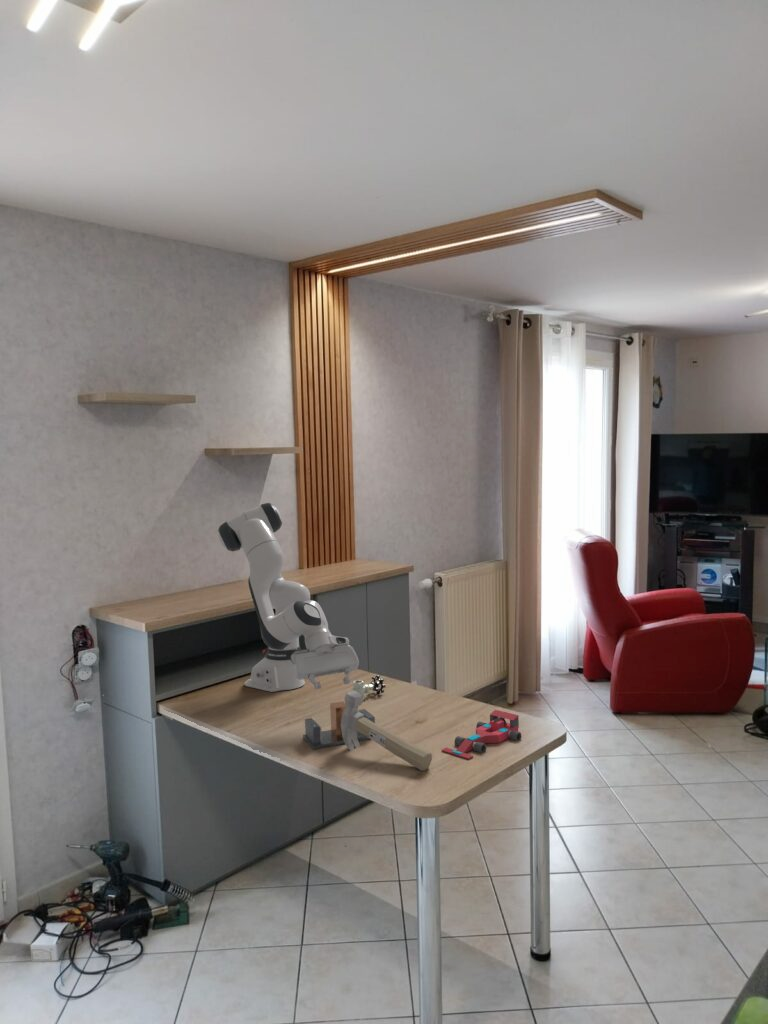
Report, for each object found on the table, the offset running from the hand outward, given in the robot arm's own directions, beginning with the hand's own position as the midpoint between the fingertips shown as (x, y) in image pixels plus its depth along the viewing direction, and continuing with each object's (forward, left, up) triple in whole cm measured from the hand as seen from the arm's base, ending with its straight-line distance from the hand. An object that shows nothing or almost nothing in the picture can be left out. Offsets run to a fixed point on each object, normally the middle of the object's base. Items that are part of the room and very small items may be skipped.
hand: (333, 685), depth 234 cm
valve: (-5, +30, -14) cm, 34 cm away
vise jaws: (+6, -6, -13) cm, 16 cm away
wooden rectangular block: (+6, -6, -12) cm, 15 cm away
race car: (+46, +6, -14) cm, 48 cm away
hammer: (+25, -15, -14) cm, 32 cm away
